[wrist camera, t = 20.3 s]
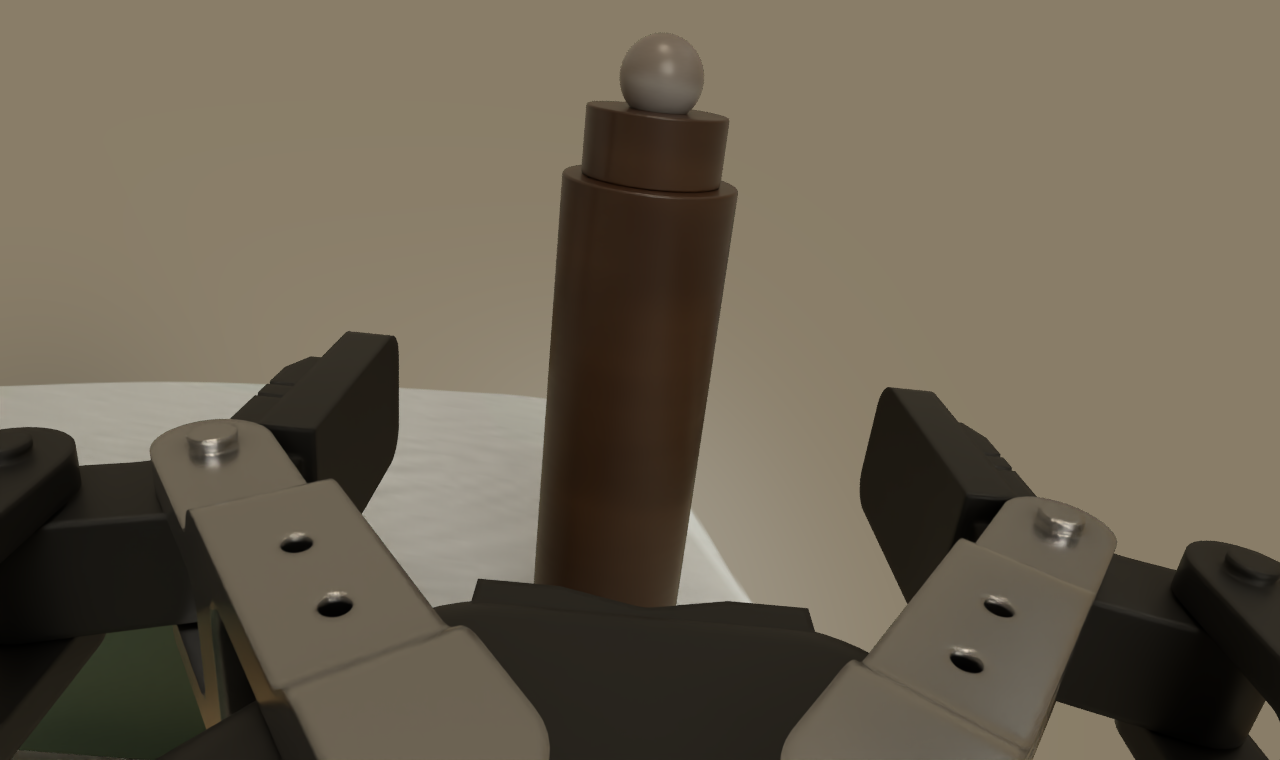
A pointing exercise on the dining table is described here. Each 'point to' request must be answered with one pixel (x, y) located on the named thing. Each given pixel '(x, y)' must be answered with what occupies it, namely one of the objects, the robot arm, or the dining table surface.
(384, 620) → the robot arm
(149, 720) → the drawer
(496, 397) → the dining table surface
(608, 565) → the pepper mill
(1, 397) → the dining table surface
